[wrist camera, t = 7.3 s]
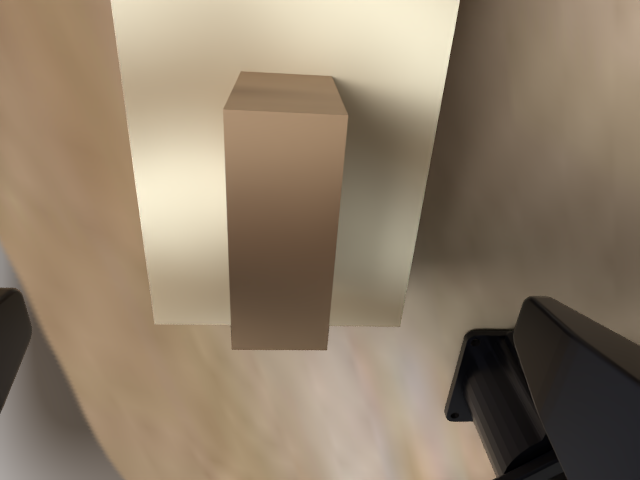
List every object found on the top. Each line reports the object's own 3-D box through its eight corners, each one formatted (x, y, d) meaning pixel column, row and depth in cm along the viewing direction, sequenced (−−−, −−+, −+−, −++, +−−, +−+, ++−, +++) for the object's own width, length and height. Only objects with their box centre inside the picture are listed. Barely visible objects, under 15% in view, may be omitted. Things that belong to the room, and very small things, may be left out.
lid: (390, 294, 19) (428, 417, 14) (166, 291, 18) (118, 418, 13) (492, -333, 11) (688, -624, 5) (89, -384, 10) (-129, -778, 5)
